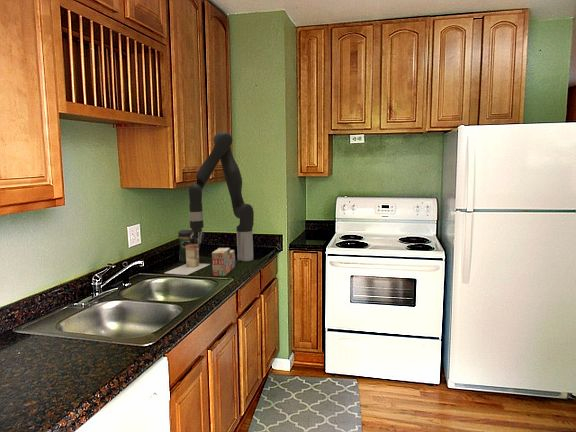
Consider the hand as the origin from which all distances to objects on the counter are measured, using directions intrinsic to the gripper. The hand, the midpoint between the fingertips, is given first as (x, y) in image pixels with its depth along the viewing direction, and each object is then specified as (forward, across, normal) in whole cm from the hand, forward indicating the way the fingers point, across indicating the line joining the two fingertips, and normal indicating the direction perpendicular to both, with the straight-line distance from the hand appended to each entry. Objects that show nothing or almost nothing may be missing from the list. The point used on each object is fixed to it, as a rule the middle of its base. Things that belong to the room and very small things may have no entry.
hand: (197, 250), depth 243 cm
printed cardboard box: (+9, +7, +20) cm, 24 cm away
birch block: (+8, +6, 0) cm, 10 cm away
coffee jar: (+9, -8, -12) cm, 17 cm away
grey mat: (+9, +11, 0) cm, 14 cm away
